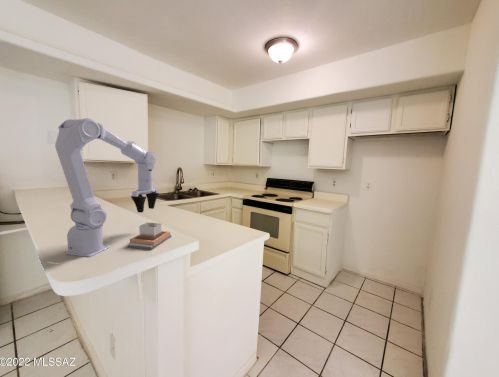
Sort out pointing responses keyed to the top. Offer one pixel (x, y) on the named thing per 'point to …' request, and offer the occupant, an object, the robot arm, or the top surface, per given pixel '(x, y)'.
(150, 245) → the frame
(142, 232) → the brushed metal cube
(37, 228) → the top surface
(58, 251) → the top surface
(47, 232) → the top surface
